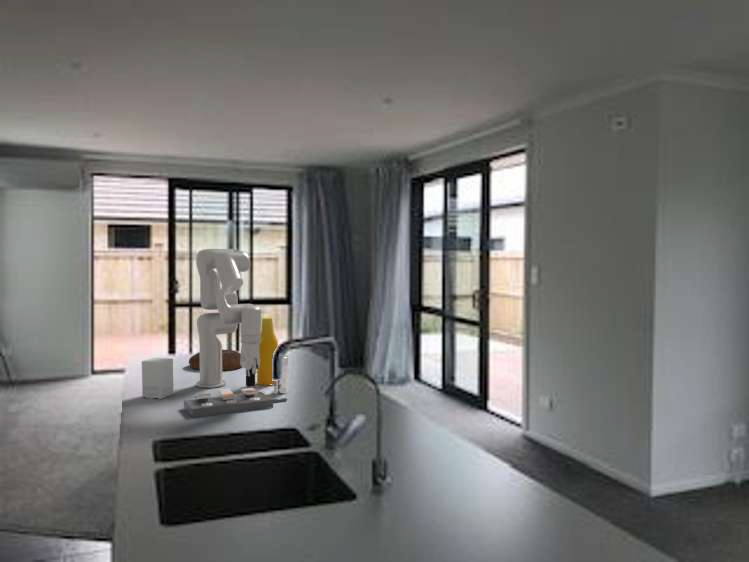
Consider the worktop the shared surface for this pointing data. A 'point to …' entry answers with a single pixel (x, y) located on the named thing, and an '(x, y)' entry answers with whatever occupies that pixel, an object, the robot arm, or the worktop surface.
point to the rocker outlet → (203, 396)
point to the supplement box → (157, 378)
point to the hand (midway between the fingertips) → (250, 385)
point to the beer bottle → (266, 352)
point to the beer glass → (282, 378)
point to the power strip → (228, 404)
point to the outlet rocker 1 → (226, 394)
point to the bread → (228, 360)
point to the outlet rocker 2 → (249, 391)
